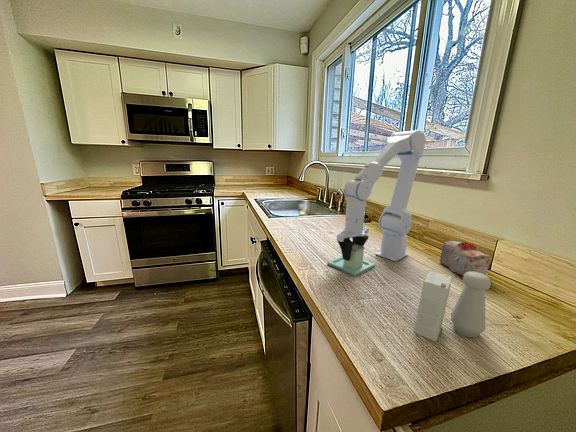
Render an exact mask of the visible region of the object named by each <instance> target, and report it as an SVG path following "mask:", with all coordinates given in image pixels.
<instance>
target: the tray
mask: <svg viewBox="0 0 576 432" xmlns="http://www.w3.org/2000/svg"><path fill="white" fill-rule="evenodd" d="M343 262H344V259H343V256H339V257H337V258H334V259H332V260H329V261H327V263H326V264H327V265H328V266H330V267H331V268H332V267H333V268H335V269H336V270H339V271H341V272H343V273H346V274H347V275H350V276H353V278H354V277H355V278H356V277H358V276H360V275H361V274H364V273H365V272H367V271H369V270H372V269H373V268H375V266H376V264H375V263H373V262H370V261H368V260H365V259H363V264H362V266H361V267H359V268H357V269H355V270H354V269H352V268H349V267H347V266H345V265H343Z"/></svg>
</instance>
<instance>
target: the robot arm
mask: <svg viewBox="0 0 576 432" xmlns="http://www.w3.org/2000/svg"><path fill="white" fill-rule="evenodd" d="M426 143H427V139H426V136H425V134H424V131H422V130H421V129H416V130H409V131H398V132H397V131H395V132H392V133H391V135H390V136H389V137H388V138H387V140H386V144H385V146H384V147H383V149H382V150H381V152H380V153H379V154H378V155H377V157H376V158H375V159H374V161H369V162H367V163H365V164H364V166H363V168H362V169H361V170H360V171H359V173H358V174H356V175H355V177H354V178H353V179H350V180H348V182H347V183H346V184H345V185H344V188H343V190H342V191H343V195H344V196H345V202H346V205H345V206H346V207H345V219H344V220H345V222H344V229H343V230H342V231H341V232H339V233H337V234H336V241H337V243H338V245H339V247H340V250H341V255H342V256H343V259H344V260H347V261H349V260H350V256H351V251H352V248H353V245H354V244H357V245H360V246H363V247H365V244H366V242H367V241H368V240H369V235H367V234H369V229H370V228H369V227H367V226H364V223H365V211H366V201H367V199H368V198H369V197H370V196H371V194H372V190H373V188H374V185H375V183H376V182H377V181H378V180H379V179H380V178H381V177H382V175H383V173H384V171H383V170H384V168H385V167H386V166H387V165H388V164H389V163H390V161H392V159H393V158H395V157H397V158H398V159H399V160H400V161H401V164H400V168H399V171H398V175H397V179H396V183H395V185H394V190H393V195H392V197H391V202H390V204H389V205H388V206H386V207H385V208H383V211H382V213H381V215H380V216H379V218H378V226H379V228H380V231H381V232H382V235H381V236H382V237H381V245H380V251H377V252H375V255H376V256H379V257H381V258H385V259H388V260H390V261H393V262H397V261H399V260H401V259H403V258H405V257H407V256H408V255H409V254H408V253H406V250H407V243H408V236H407V234H408V233H409V232H410V231H411V229H412V217H413V214H412V213H411V212H410V211H409V210H408V208H407V207H408V203H409V199H410V197H411V192H412V188H413V185H414V181H415V178H416V173H417V171H418V167H419V164H420V163H419V162H420V159H421V158H422V156H423V152H424V149H425V145H426ZM351 239H352V240H351Z"/></svg>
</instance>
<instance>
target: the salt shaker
mask: <svg viewBox="0 0 576 432" xmlns="http://www.w3.org/2000/svg"><path fill="white" fill-rule="evenodd" d="M462 281H463V283H464V284H465V285H464V286H463V288H462V291H461V292H460V294H459V296H458V299H457V301H456V303H455V306H454V307H453V310H452V311H451V314H450V315H451V316H450V321H451V323H452V324H453V328H454V330H455V332H456V333H458V334H460V335H462V336H463V337H465V338H471V339H476V338H477V337H478V336H479V335H480V334H482V333H483V332H484V331H485V330H486V291H487V290H489V289H490V287H491V284H492V283H491V282H492V281H491V278H490V277H489V276H487V275H486V274H485V275H484V274H482V273H478V272H467V273H465V274H464V276H462Z"/></svg>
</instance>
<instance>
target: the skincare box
mask: <svg viewBox="0 0 576 432" xmlns="http://www.w3.org/2000/svg"><path fill="white" fill-rule="evenodd" d="M452 281H453V276H450V275H446V274H444V273H443V274H442V273H438V272H435V271H429V272H428V274H427V275H426V277H425V279H424V281H423V285H422V289H421V294H420V299H419V302H418V303H419V304H418V308H417V314H416V319H415V324H414V330H413V332H414V333H415V334H418V335H420V336H422V337H423V338H425V339H429V340H431V341H433V342H437V341H438V338H439V335H440V332H441V328H442V326H443V322H444V317H445V313H446V308H447V304H448V299H449V295H450V290H451V285H452Z"/></svg>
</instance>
